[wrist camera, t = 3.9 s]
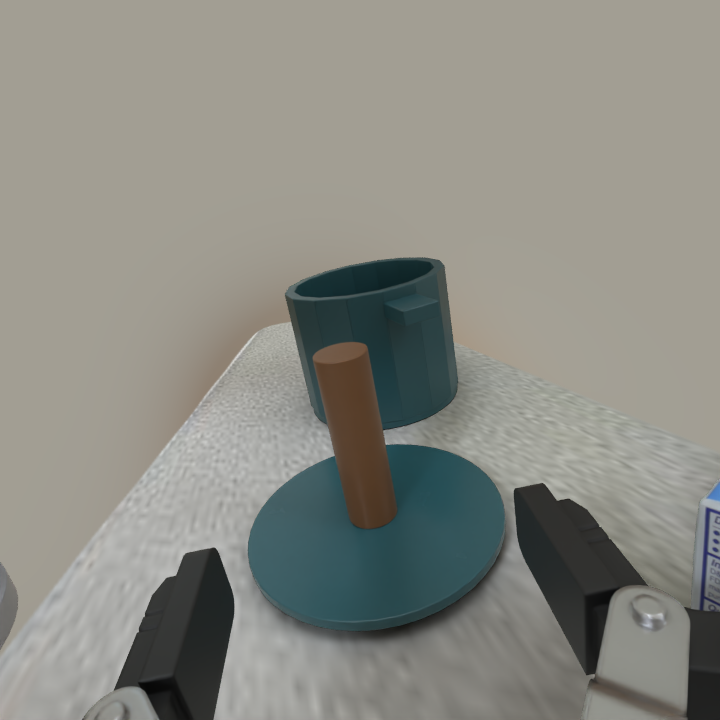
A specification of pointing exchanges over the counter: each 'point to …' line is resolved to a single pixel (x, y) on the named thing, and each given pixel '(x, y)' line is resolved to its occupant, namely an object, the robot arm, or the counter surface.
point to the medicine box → (707, 553)
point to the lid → (373, 518)
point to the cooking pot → (382, 332)
